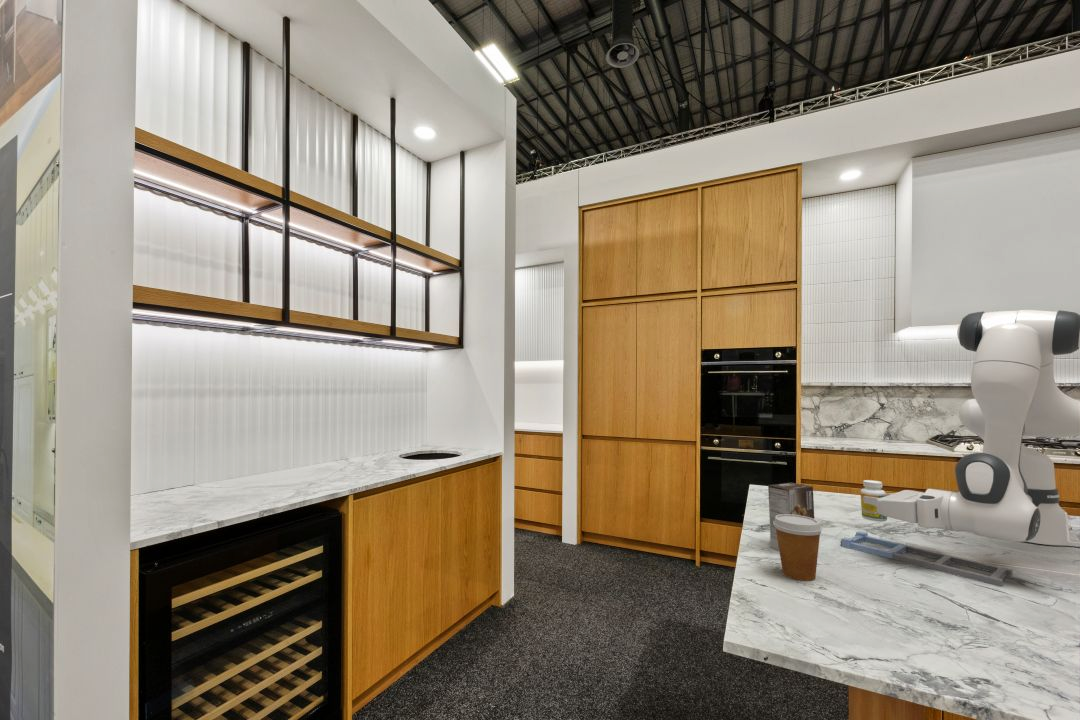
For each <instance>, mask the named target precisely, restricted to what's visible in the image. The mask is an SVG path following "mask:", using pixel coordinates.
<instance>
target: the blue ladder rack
mask: <svg viewBox="0 0 1080 720" xmlns="http://www.w3.org/2000/svg"><path fill="white" fill-rule="evenodd" d="M868 534H869V533H868V532H865V531H860V530H859V531H856V532H855V534H854V536H853V537H851V538H850V537H845V536H843V537H841V540H840V541H839V542H840V546H841V547H842V548H846V549H851V548H852V550H856V551H859V552H864V553H867V554H871V555H875V556H878V557H883V558H887V559H890V558H891V559H890V560H894V561H900V562H903V563H907V564H912V565H915V566H920V567H923V568H926V569H930V570H931V569H932V570H934V571H939V572H942V573H946V574H951V575H954V574H955V575H954V576H958V575H959V577H961V578H962V577H963V578H965V579H970V580H973V579H974V580H973V581H978V582H981V581H982V583H985V582H986V584H989V583H990V585H993V584H994V586H997V585H998V587H1003V586H1004V579H1005V577H1006V576H1009V577H1013V576H1014V573H1013V572H1014V571H1013V569H1011V568H1006V567H1003V566H998V565H994V564H990V563H985V562H982V561H981V562H980V561H977V560H971V559H968V558H963V557H958V556H956V555H952V554H951V555H950V554H947V553H942V552H936V551H934V550H928V549H924V548H921V547H917V546H916V547H915V546H911V545H908V544H904V543H901V542H897V541H893V540H892V541H891V540H887V539H882V538H878V537H875V536H869V535H868ZM861 542H862V543H869V542H870V544H873V543H874V544H873V545H877V544H878V545H877V546H881V545H882V547H886V548H890V549H889V550H886V549H883V548H878V547H873V546H870V545H867V544H866V545H865V544H862V543H861ZM859 543H860V544H859ZM906 552H908V553H912V554H917V555H920V556H925V557H928V558H932V557H933V558H932V559H936V558H937V560H935V561H934V562H933V561H930V560H924V559H921V558H917V557H914V556H909V555H904V554H905V553H906ZM953 562H954V564H957V563H959V564H958V565H962V564H963V566H966V565H967V567H970V566H971V568H974V567H975V569H978V568H980V569H979V570H983V569H984V571H987V570H988V571H987V572H991V571H992V572H991V573H992V574H990V575H986V574H982V573H979V572H978V573H977V572H974V571H970V570H965V569H962V568H958V567H954V566H951V565H950V564H951V563H953Z"/></svg>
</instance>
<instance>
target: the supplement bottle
mask: <svg viewBox="0 0 1080 720" xmlns="http://www.w3.org/2000/svg"><path fill="white" fill-rule="evenodd" d="M862 483H863V488H861V489H860V506H861V507H860V509H861V517H862V518H863V519H865V520H867V521H871V522H886V521H888V517H886V516H883V515H881V514H879V513H877V507H876V506H874V505H871V504H866V503H864V502H863V497H864V496H872V497H875V498H882V497H885V496H886V491H885V490H883V489H882V488H883V482H882V481H879V480H872V479H866V480H865V479H863V480H862Z"/></svg>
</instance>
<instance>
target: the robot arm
mask: <svg viewBox="0 0 1080 720" xmlns="http://www.w3.org/2000/svg"><path fill="white" fill-rule="evenodd" d="M956 332H957V333H956V334H957V339H958V341H959V345H960V346H961V347H962V348H963V349H965V350H968V351H970V352H974V353H975V355H974V358H973V363H972V367H971V371H970V372H971V373H970V384H971V385H970V386H971V392H972V395H973V398H971V399H967V400H966V401H964V402H963V403H962V404H961V406H960V408H959V411H958V418H959V420H960V422H961V424H962V426H963V427H964V428H966V430H968V431H969V432H971V433H973V434H975V435H976V436H978V438H980V439H981V440H983V446H982V452H975V453H969V454H966V455H964V456H963V457H961V458H960V459H959V460H958V461H957V463H956V464H955V468H954V469H955V470H954V473H955V479H956V483H957V484H956V485H957V487H958V488H957V489H958V492H956V491H950V490H942V489H935V488H926V490H925V492H923V491H917V490H912V489H904V490H901V491H897V492H895V493H892V492H891V493H890V492H889V493H886V492H885V493H886V496H885V497H882V498H875V497H872V496H864V497H863V502H864V503H866V504H871V505H874V506H876V507H877V513H879V514H881V515H883V516H886V517H887V518H890V519H894V520H899V521H902V522H907V523H913V524H917V526H918V527H921V528H924V529H939V530H940V529H941V530H946V531H952V532H957V533H958V532H966V533H971V534H974V535H976V536H979V537H983V538H987V539H988V538H989V539H994V540H999V541H1000V540H1001V541H1009V542H1019V543H1020V542H1026V543H1031V544H1039V545H1040V544H1041V545H1048V546H1064V547H1066V546H1067V547H1076V548H1080V539H1079V537H1078V536H1077V535H1076V533H1075V532H1074V531H1072V530H1073V526H1071V525H1069V518H1068V512H1067V511H1065V509H1063V508H1062V507H1061V506H1060V505H1059V503H1060V493H1059V490H1058V489H1057V488H1056V475H1055V464H1054V461H1053V460H1052V458H1050V457H1049V456H1048V455H1047V454H1045V453H1043V452H1040V451H1038V450H1036V449H1034V448H1031V447H1028V446H1026V445H1024V444H1023V437H1035V438H1036V437H1037V438H1056V439H1058V438H1068V437H1069V438H1070V437H1080V400H1078V399H1076V398H1072V397H1070V396H1069V395H1067V394H1066V393H1065V392H1063V391H1062V390H1060V388H1059V387H1058V386H1057V383H1056V381H1055V374H1054V373H1055V372H1054V366H1055V365H1054V363H1055V362H1054V361H1055V359H1054V358H1055V356H1060V355H1061V356H1062V355H1069V354H1073V353H1075V352H1076V351H1079V350H1080V314H1079V313H1077V312H1073V311H1067V310H1058V311H1054V310H1052V311H1051V310H1040V309H1039V310H1038V309H1019V310H1000V311H999V310H997V311H989V312H985V311H977V312H976V311H975V312H971V313H968V314H967V315H965V316H963V318H962V319H961V321H960V323H959V324H958V326H957V331H956Z"/></svg>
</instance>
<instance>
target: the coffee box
mask: <svg viewBox="0 0 1080 720" xmlns="http://www.w3.org/2000/svg"><path fill="white" fill-rule="evenodd" d="M767 486H768V487H767V488H768V507H769V508H768V511H769V512H768V514H769V535H770V537H769V541H770V548H772V549H774V550H776V551H779V546H778V540H777V533H776V528H775V526H774V524H773V521H775V516H777V515H781V514H792V515H800V516H806V517H810V518H813V519H815V504H814V502H815V500H814V486H811V485H806V484H801V483H795V482H783V483H777V484H776V483H775V484H768V485H767Z"/></svg>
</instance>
